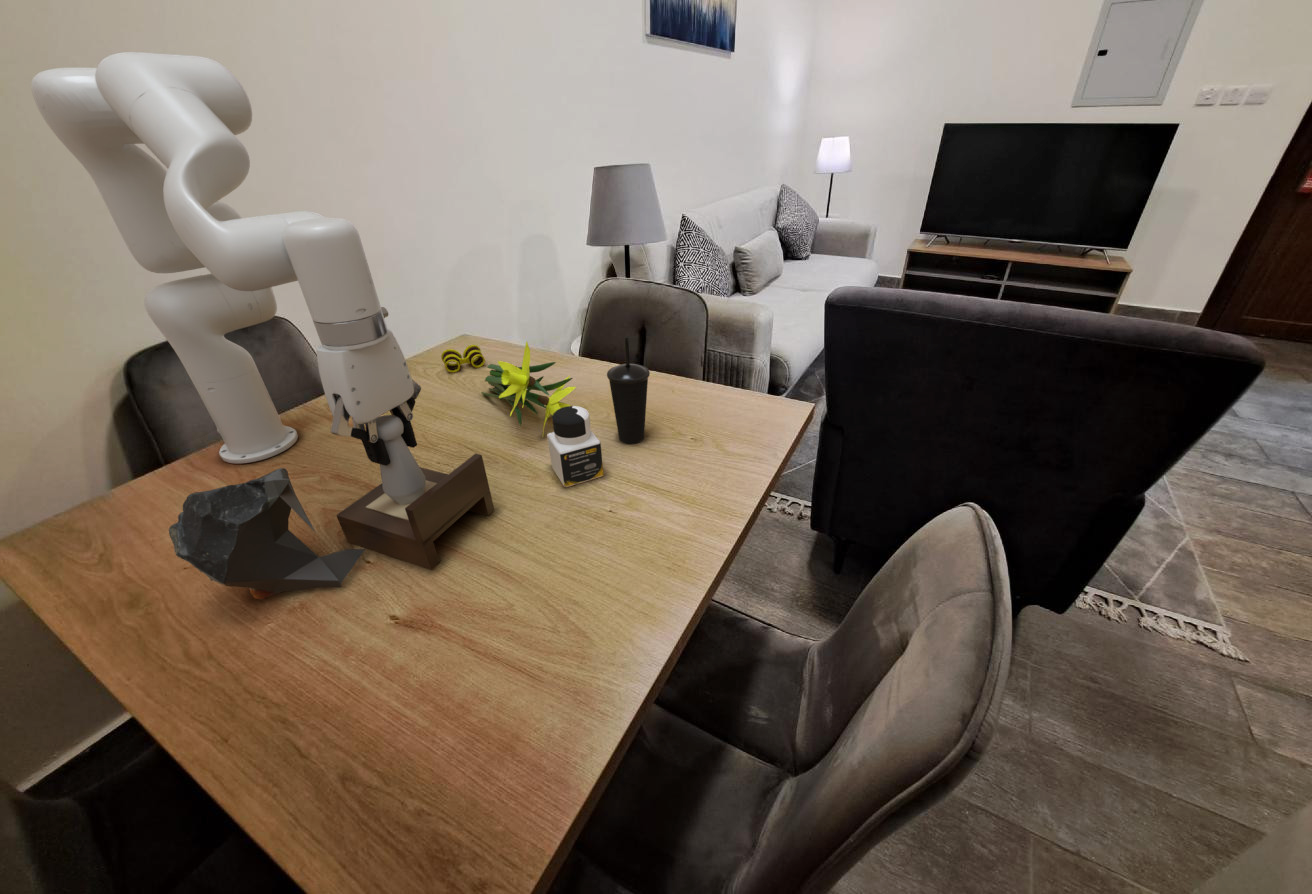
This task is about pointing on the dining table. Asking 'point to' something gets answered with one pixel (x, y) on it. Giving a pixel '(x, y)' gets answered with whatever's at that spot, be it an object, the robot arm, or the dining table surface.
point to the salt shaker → (399, 463)
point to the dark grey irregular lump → (254, 539)
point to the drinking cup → (629, 398)
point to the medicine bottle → (574, 447)
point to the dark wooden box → (418, 514)
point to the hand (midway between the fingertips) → (394, 452)
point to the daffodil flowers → (526, 386)
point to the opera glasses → (468, 357)
